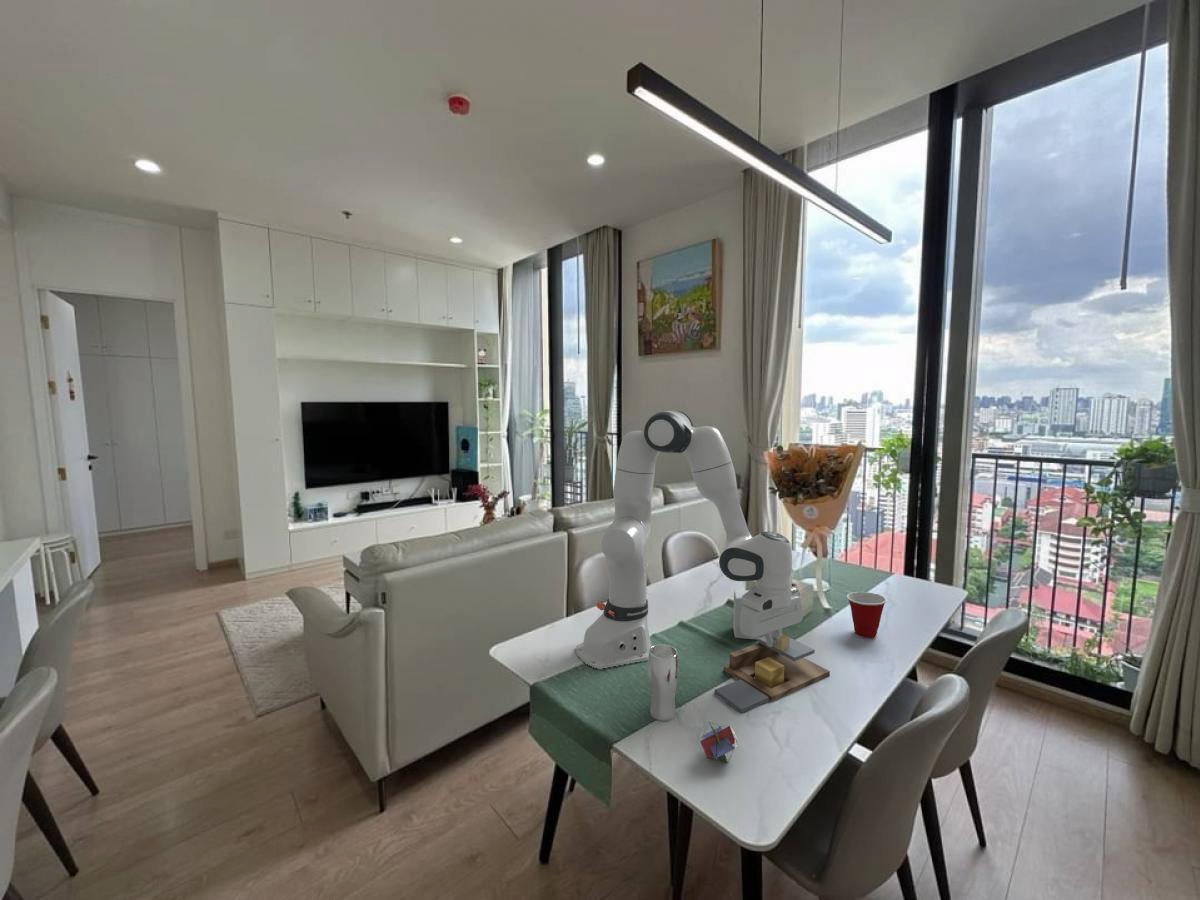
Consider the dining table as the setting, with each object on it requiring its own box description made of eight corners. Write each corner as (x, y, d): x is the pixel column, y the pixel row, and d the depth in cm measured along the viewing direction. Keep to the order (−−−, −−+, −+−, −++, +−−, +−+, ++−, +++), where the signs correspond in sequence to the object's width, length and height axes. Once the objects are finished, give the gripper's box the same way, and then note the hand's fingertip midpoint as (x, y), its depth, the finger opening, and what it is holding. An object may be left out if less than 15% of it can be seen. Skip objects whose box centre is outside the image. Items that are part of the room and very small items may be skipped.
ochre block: (770, 690, 122) (770, 671, 122) (754, 680, 127) (755, 662, 126) (783, 684, 125) (784, 665, 124) (768, 675, 129) (768, 657, 129)
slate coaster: (741, 713, 113) (741, 709, 113) (714, 693, 121) (714, 689, 121) (768, 701, 118) (768, 697, 118) (740, 682, 125) (740, 679, 125)
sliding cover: (794, 661, 125) (794, 646, 125) (757, 641, 136) (758, 627, 135) (814, 653, 129) (815, 638, 129) (777, 634, 140) (777, 621, 139)
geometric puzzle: (700, 762, 95) (723, 728, 95) (687, 738, 102) (709, 707, 102) (727, 778, 97) (750, 745, 97) (713, 754, 103) (734, 723, 103)
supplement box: (759, 640, 148) (760, 599, 147) (734, 638, 149) (735, 598, 148) (757, 629, 155) (757, 590, 154) (732, 627, 156) (733, 588, 155)
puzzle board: (771, 701, 118) (772, 681, 117) (723, 670, 131) (724, 652, 131) (829, 675, 129) (830, 657, 128) (779, 649, 142) (780, 632, 142)
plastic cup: (852, 622, 159) (853, 586, 158) (889, 633, 151) (891, 596, 150) (839, 634, 151) (841, 596, 150) (878, 646, 144) (880, 606, 142)
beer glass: (641, 712, 114) (641, 651, 112) (660, 700, 119) (660, 640, 117) (665, 726, 109) (665, 662, 107) (684, 712, 114) (684, 651, 112)
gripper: (789, 582, 136) (788, 630, 137) (736, 598, 126) (735, 649, 127) (809, 590, 131) (808, 640, 132) (755, 607, 120) (754, 660, 122)
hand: (772, 645), depth 130 cm, fingers closed
